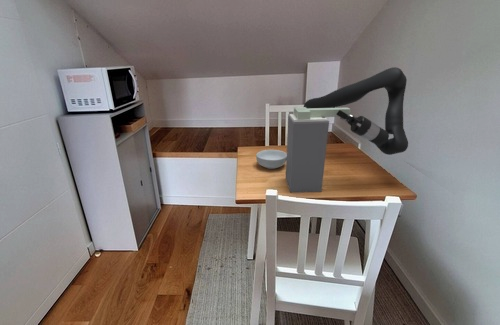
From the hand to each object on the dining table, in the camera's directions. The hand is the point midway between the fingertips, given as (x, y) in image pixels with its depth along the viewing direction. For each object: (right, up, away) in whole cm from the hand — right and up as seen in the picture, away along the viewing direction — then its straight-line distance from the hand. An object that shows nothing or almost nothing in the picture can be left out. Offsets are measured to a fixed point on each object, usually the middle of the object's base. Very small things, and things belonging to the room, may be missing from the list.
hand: (334, 110), depth 100 cm
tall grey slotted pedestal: (-10, -32, +14) cm, 37 cm away
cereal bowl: (-23, -24, +35) cm, 48 cm away
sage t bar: (-5, -2, +1) cm, 6 cm away
